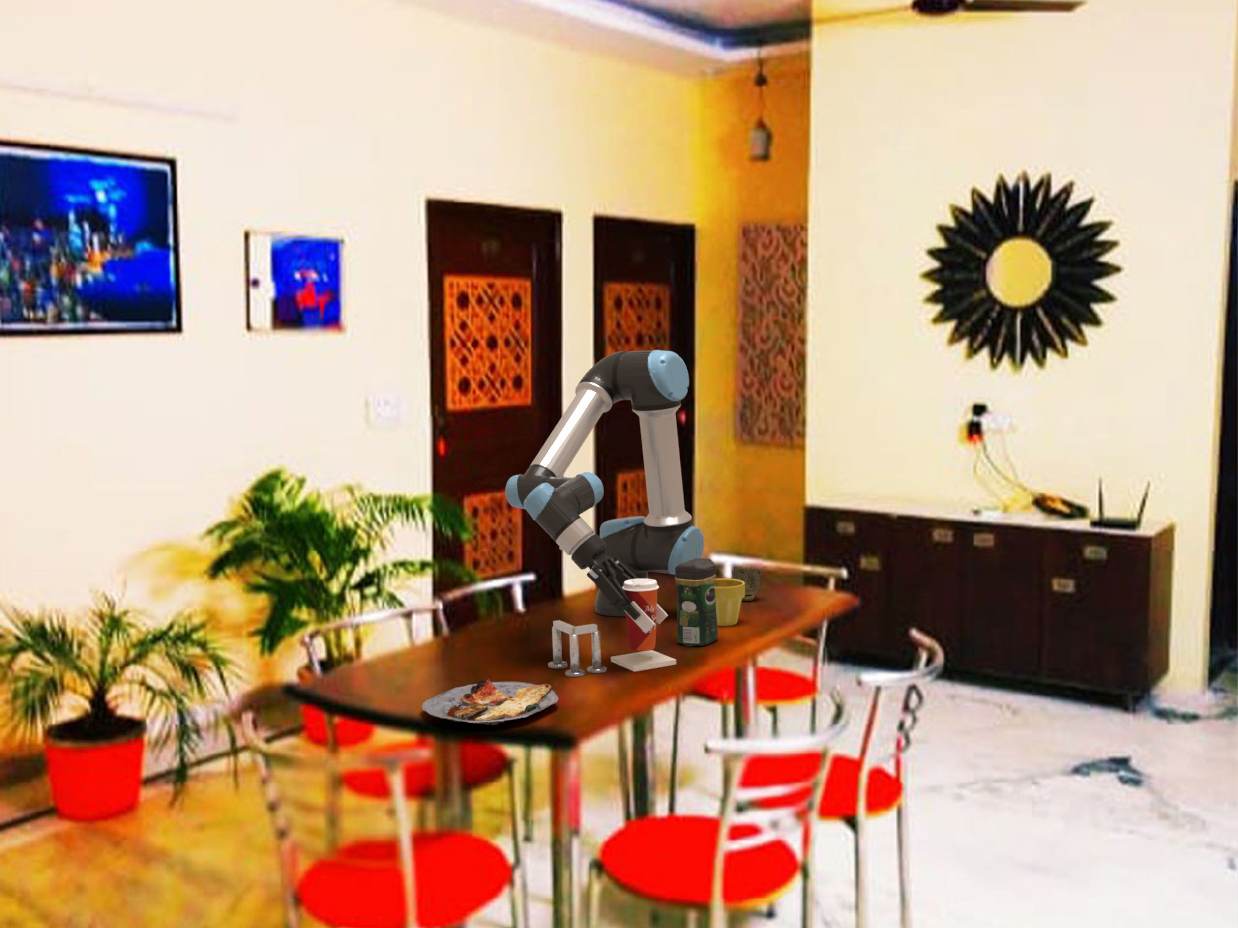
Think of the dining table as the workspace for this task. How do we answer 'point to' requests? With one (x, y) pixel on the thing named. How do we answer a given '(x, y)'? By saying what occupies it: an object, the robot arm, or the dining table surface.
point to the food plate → (492, 701)
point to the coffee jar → (696, 602)
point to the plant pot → (728, 600)
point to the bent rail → (575, 648)
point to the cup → (748, 581)
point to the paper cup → (646, 599)
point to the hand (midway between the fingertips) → (656, 624)
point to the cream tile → (643, 660)
